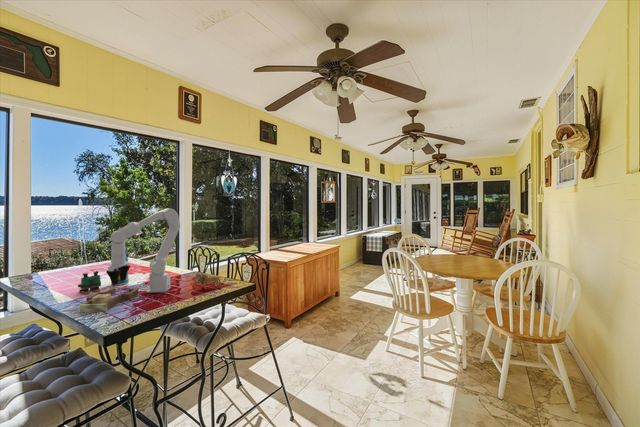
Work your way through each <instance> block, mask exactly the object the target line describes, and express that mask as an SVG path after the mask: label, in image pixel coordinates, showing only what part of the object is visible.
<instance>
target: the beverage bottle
mask: <svg viewBox="0 0 640 427" xmlns="http://www.w3.org/2000/svg"><path fill="white" fill-rule="evenodd" d="M127 251H128V249H127V248H126V247H125V261H128V262H129V258H128V256H127V254H128V252H127ZM110 262H111V263H110V264H112V261H111V260H110ZM128 265H130V264H129V263H128ZM116 270H118V269H116ZM128 283H129V272H128V273H127V276H126V280H120V275H119V279H118V284H117V285H116V286H123V285H127V284H128ZM111 285H112V282H111Z"/></svg>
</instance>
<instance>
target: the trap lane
mask: <svg viewBox="0 0 640 427" xmlns="http://www.w3.org/2000/svg"><path fill="white" fill-rule="evenodd" d="M127 291H128V292H127V293H119V294H118V295H116V296H115V297H113V298H111V300H110V301H108V302H106V303H105V304H92V298H93V297H95V296H96V295H98V294H111V297H112V296H114V295H115V294H116V287H112V288H110V289H108V290H106V291H98V292H96V293H94V294H92V295H89V296H88V297H86V298H85V299H86V301H85V302H83V303H81V304H79V312H80V313H87V312H88V313H89V312H91V313H92V312H93V313H94V312H95V313H96V312H106V311H108V310H110V309H112V308H113V307H115V306H116V305H118V304H120V303H121V302H123V301H131V300H132V299H133V298H135V297H137V296H138V295H139V288H135V286H132V287H130V288H128V290H127Z"/></svg>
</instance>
